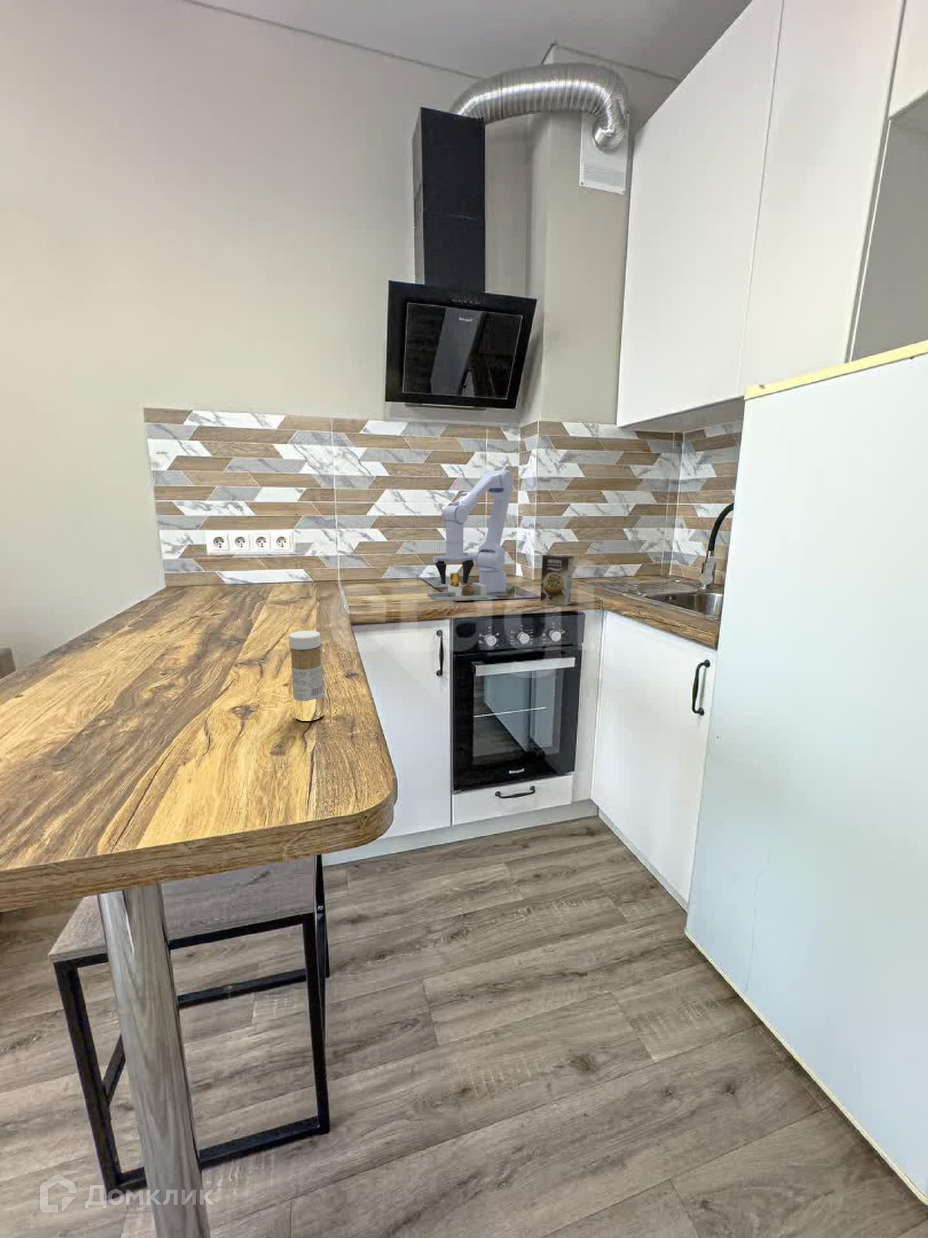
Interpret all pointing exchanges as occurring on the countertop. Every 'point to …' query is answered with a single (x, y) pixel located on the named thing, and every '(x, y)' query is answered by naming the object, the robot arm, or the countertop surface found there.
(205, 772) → the countertop surface
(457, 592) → the cracker jaw
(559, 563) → the coffee box
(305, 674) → the spice jar
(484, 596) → the cracker base
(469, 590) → the walnut
